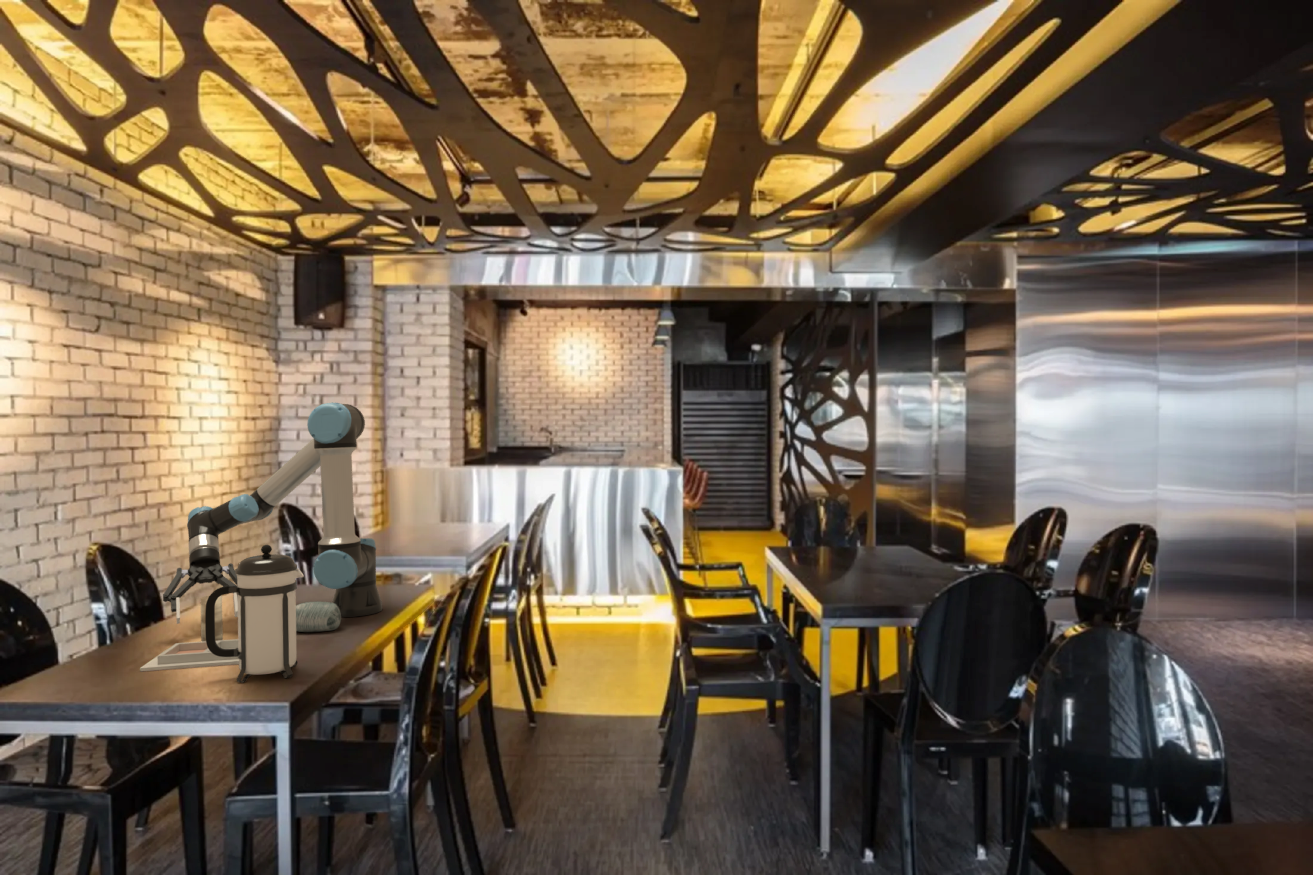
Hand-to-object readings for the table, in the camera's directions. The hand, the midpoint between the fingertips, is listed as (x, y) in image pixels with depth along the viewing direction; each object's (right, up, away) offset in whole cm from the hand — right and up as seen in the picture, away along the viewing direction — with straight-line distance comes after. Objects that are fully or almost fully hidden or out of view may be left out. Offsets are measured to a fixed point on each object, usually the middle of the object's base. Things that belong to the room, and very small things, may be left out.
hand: (207, 617), depth 210 cm
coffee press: (+30, -7, -30) cm, 43 cm away
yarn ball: (+24, -6, +11) cm, 27 cm away
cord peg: (+1, -7, 0) cm, 7 cm away
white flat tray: (+10, -6, -15) cm, 19 cm away
